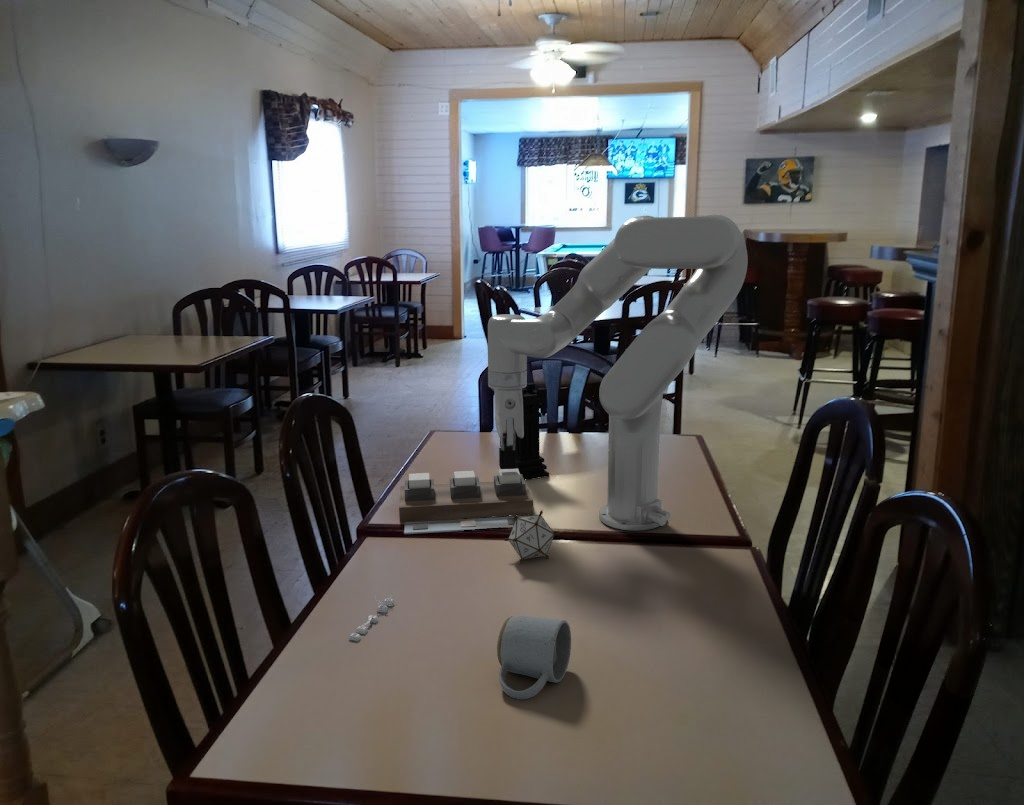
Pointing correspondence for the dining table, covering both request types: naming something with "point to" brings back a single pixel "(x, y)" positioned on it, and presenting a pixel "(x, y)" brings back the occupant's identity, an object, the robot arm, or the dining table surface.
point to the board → (463, 506)
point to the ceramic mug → (533, 651)
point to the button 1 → (419, 480)
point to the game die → (531, 536)
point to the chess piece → (530, 435)
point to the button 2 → (509, 476)
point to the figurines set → (372, 617)
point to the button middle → (464, 478)
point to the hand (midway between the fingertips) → (507, 467)
